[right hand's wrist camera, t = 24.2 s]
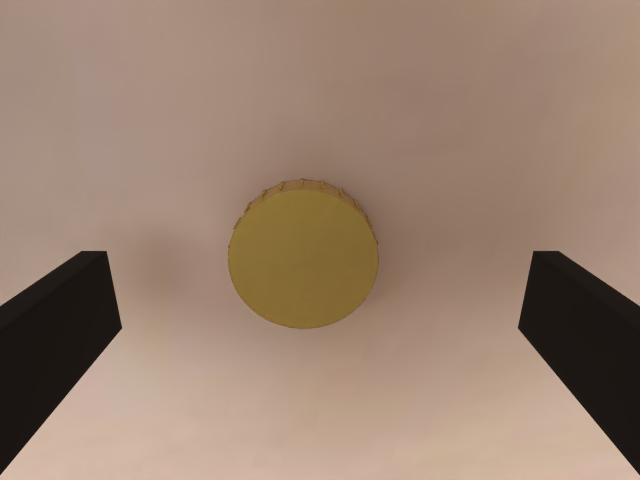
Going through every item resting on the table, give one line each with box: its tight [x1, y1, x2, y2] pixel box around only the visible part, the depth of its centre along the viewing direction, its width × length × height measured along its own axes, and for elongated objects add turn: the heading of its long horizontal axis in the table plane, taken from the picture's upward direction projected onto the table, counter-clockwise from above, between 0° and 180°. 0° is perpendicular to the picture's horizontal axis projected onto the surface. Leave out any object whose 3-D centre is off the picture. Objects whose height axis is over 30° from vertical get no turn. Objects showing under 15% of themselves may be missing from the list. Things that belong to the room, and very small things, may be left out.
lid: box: [228, 179, 378, 329], centre depth 17 cm, size 6×6×2 cm
